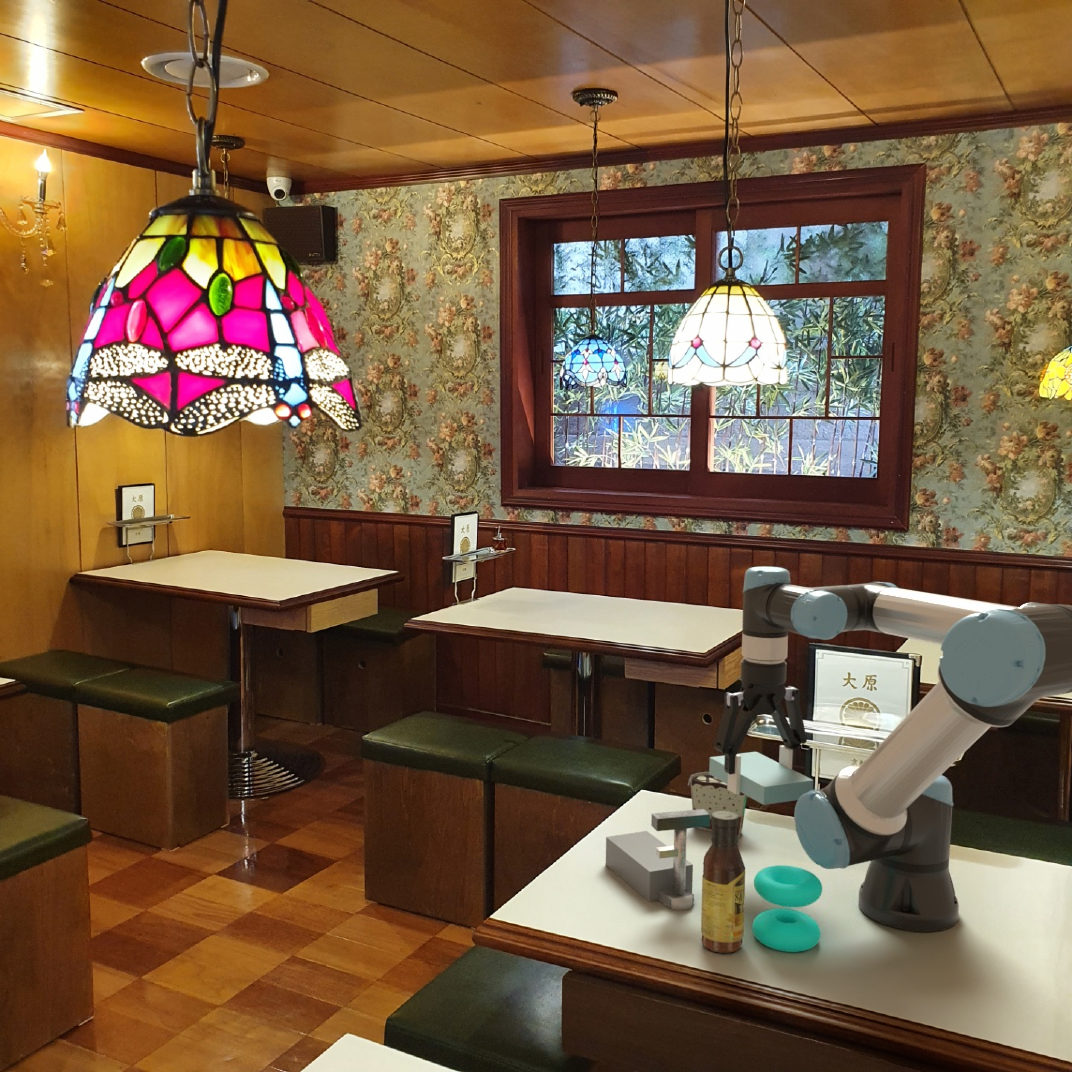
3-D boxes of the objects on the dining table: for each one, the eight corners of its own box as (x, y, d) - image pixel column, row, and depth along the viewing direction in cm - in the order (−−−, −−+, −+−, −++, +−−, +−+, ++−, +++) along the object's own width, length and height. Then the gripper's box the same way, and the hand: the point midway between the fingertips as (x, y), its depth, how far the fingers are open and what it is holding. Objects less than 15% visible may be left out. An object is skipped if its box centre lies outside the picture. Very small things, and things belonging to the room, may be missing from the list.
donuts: (804, 860, 169) (834, 886, 159) (801, 922, 170) (832, 952, 160) (743, 865, 167) (771, 892, 157) (741, 927, 168) (768, 958, 158)
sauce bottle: (742, 957, 158) (746, 825, 156) (699, 953, 160) (702, 821, 158) (743, 937, 165) (747, 809, 163) (701, 932, 166) (705, 806, 164)
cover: (812, 797, 180) (813, 780, 179) (763, 805, 176) (764, 787, 176) (755, 767, 195) (756, 751, 195) (709, 773, 191) (709, 757, 191)
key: (701, 886, 178) (703, 809, 177) (707, 892, 176) (710, 814, 174) (649, 891, 176) (651, 813, 174) (655, 898, 173) (657, 819, 172)
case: (707, 905, 175) (707, 875, 175) (663, 913, 172) (664, 883, 172) (646, 858, 194) (646, 830, 194) (605, 864, 191) (606, 836, 191)
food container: (759, 828, 209) (760, 778, 208) (747, 839, 204) (748, 787, 203) (699, 816, 216) (700, 766, 215) (686, 825, 211) (687, 775, 210)
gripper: (805, 649, 191) (800, 774, 193) (695, 659, 182) (691, 788, 185) (832, 658, 184) (827, 787, 186) (719, 668, 175) (715, 803, 178)
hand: (759, 788), depth 186 cm, fingers closed on cover, 10 cm apart
